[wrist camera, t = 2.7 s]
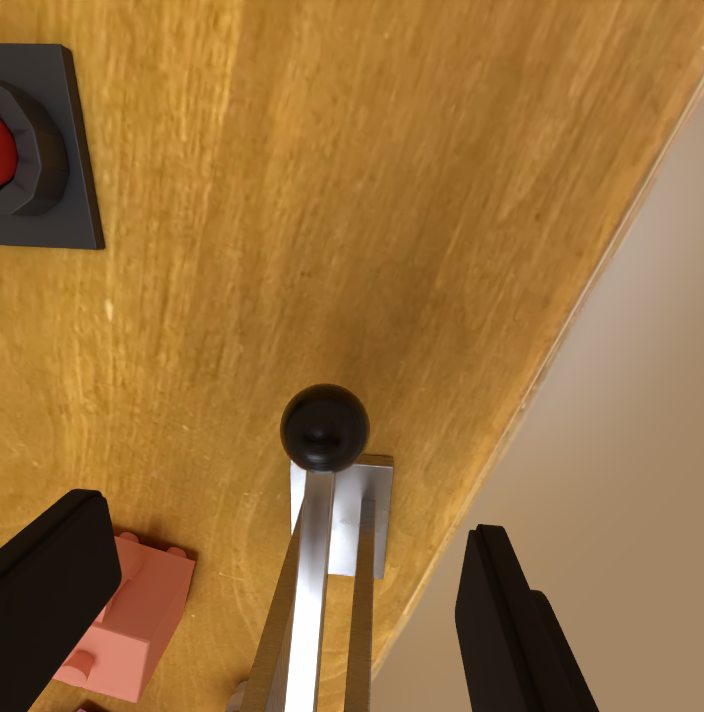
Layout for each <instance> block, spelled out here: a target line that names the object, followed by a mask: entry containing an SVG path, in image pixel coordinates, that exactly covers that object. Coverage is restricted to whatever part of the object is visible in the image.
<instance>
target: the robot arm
mask: <svg viewBox="0 0 704 712" xmlns="http://www.w3.org/2000/svg"><path fill="white" fill-rule="evenodd" d="M121 580H122V571H121V566H120V561H119V557H118V552H117V547H116V542H115V537H114V533H113V528H112V523H111V518H110V514H109V509H108V504H107V500H106V499H105V498H104V497H103V496H102V494H101V492H99V491H96V490H86V489H73V490H71V491H69V492H68V493H67V494H65V495H64V496H63V497H62V498H61V499H59V500H58V501H57V502H56V503H55V504H53V505H52V506H51V507H50V508H48V509H47V510H46V511H45V512H44V513H42V514H41V515H40V516H39V517H38V518H36V519H35V520H34V521H33V522H32V523H30V524H29V525H28V526H27V527H25V528H24V529H23V530H22V531H21V532H19V533H18V534H17V535H16V536H15V537H13V538H12V539H11V540H10V541H8V542H7V543H6V544H5V545H4V546H2V547H1V548H0V712H27V711H28V710H29V708H30V707H31V706H32V704H33V703H34V702H35V700H36V699H37V698H38V696H39V695H40V694H41V692H42V691H43V690H44V688H45V687H46V685H47V684H48V683H49V681H50V680H51V679H52V677H53V676H54V675H55V673H56V672H57V671H58V669H59V668H60V667H61V665H62V664H63V663H64V661H65V660H66V659H67V657H68V656H69V654H70V653H71V652H72V650H73V649H74V648H75V646H76V645H77V644H78V642H79V641H80V640H81V638H82V637H83V636H84V634H85V633H86V632H87V630H88V629H89V627H90V626H91V625H92V623H93V622H94V621H95V619H96V618H97V617H98V615H99V614H100V613H101V611H102V610H103V609H104V607H105V606H106V605H107V603H108V602H109V601H110V599H111V598H112V596H113V595H114V594H115V592H116V591H117V589H118V588H119V586H120V583H121ZM455 623H456V629H457V634H458V639H459V644H460V650H461V655H462V660H463V665H464V670H465V676H466V681H467V686H468V692H469V696H470V702H471V707H472V712H599V710H598V708H597V706H596V703H595V701H594V699H593V697H592V695H591V692H590V690H589V688H588V686H587V684H586V682H585V679H584V677H583V675H582V673H581V671H580V668H579V666H578V664H577V662H576V660H575V657H574V655H573V653H572V651H571V649H570V647H569V645H568V642H567V640H566V638H565V636H564V633H563V631H562V629H561V627H560V625H559V622H558V620H557V618H556V616H555V614H554V611H553V609H552V607H551V605H550V603H549V601H548V599H547V598H546V596H545V595H544V594H543V593H542V592H541V591H538V590H530V588H529V586H528V583H527V581H526V579H525V576H524V574H523V571H522V569H521V567H520V564H519V562H518V559H517V557H516V555H515V552H514V550H513V547H512V545H511V543H510V540H509V538H508V536H507V533H506V531H505V529H504V528H503V527H502V526H495V525H483V524H478V526H477V528H476V530H470V531H469V535H468V540H467V546H466V551H465V556H464V562H463V567H462V573H461V579H460V585H459V590H458V595H457V601H456V607H455Z"/></svg>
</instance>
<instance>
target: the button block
mask: <svg viewBox="0 0 704 712" xmlns="http://www.w3.org/2000/svg"><path fill="white" fill-rule="evenodd" d="M0 119H1V120H2V121H3V122H4V123H5V125H6V126H7V127H8V129H9V130H10V132H11V133H12V135H13V137H14V140H15V143H16V147H17V151H18V165H17V169H16V172H15V174H14V176H13V177H12V178H11V179H10V180H9V181H7V182H6V183H3V184H0V245H11V246H31V247H52V248H72V249H92V250H100V249H104V242H103V236H102V231H101V225H100V219H99V213H98V207H97V201H96V196H95V190H94V184H93V178H92V172H91V167H90V161H89V155H88V149H87V143H86V137H85V132H84V126H83V120H82V114H81V108H80V103H79V97H78V91H77V85H76V79H75V74H74V68H73V62H72V56H71V51H70V50H69V49H68V48H66V47H64V46H63V45H61V44H13V43H0Z"/></svg>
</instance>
